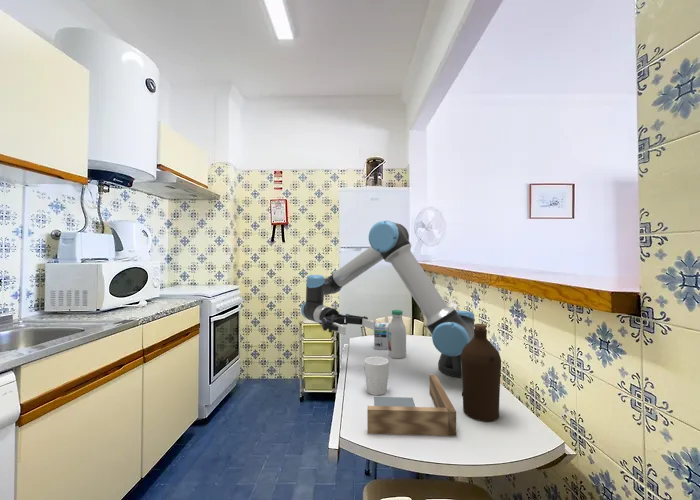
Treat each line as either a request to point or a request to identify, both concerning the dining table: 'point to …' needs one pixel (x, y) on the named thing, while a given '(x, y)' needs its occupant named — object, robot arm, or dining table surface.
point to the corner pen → (415, 416)
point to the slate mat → (394, 401)
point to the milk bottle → (397, 336)
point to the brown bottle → (481, 377)
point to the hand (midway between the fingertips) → (360, 328)
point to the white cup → (376, 375)
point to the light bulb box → (381, 335)
